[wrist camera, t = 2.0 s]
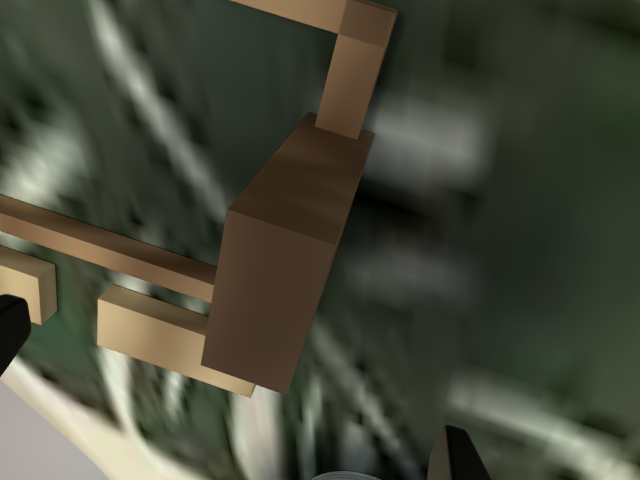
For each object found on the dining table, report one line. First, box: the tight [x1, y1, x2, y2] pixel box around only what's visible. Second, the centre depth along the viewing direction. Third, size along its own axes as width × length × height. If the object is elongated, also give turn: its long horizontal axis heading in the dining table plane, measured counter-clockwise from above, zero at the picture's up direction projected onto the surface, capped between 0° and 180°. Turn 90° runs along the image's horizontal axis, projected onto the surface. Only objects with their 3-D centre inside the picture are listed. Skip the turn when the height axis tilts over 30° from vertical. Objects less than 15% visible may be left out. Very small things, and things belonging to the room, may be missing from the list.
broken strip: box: [0, 246, 256, 398], centre depth 24 cm, size 19×3×1 cm, turn 75°
